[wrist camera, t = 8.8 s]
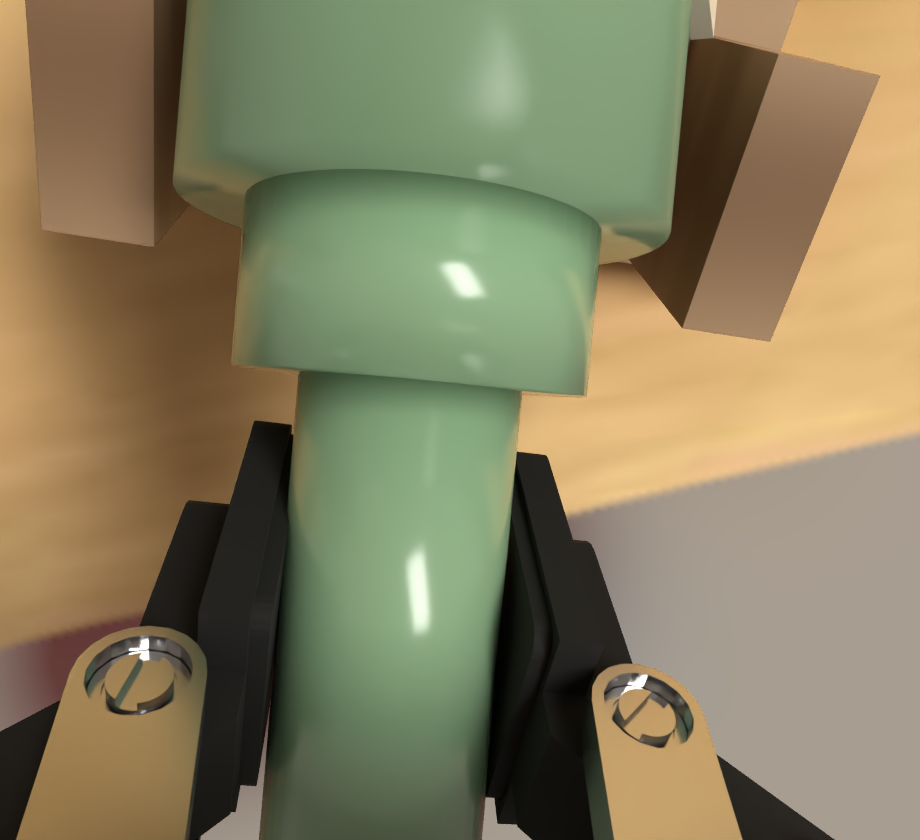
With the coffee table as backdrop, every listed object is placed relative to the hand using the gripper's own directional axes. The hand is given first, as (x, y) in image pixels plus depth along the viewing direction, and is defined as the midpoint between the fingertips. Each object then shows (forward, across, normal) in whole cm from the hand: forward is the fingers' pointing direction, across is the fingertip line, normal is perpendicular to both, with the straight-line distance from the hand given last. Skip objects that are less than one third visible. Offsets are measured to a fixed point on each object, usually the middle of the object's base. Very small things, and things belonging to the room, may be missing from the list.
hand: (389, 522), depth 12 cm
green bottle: (+6, +1, -16) cm, 17 cm away
